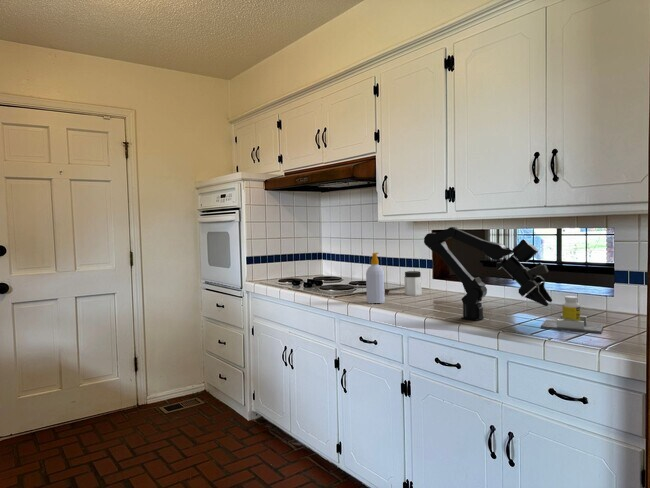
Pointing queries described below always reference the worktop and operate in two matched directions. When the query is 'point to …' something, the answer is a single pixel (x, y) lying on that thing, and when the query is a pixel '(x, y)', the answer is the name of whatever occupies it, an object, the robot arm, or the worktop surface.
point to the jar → (413, 283)
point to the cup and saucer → (385, 289)
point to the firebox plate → (573, 325)
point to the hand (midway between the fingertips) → (549, 303)
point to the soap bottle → (375, 282)
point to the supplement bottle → (571, 308)
